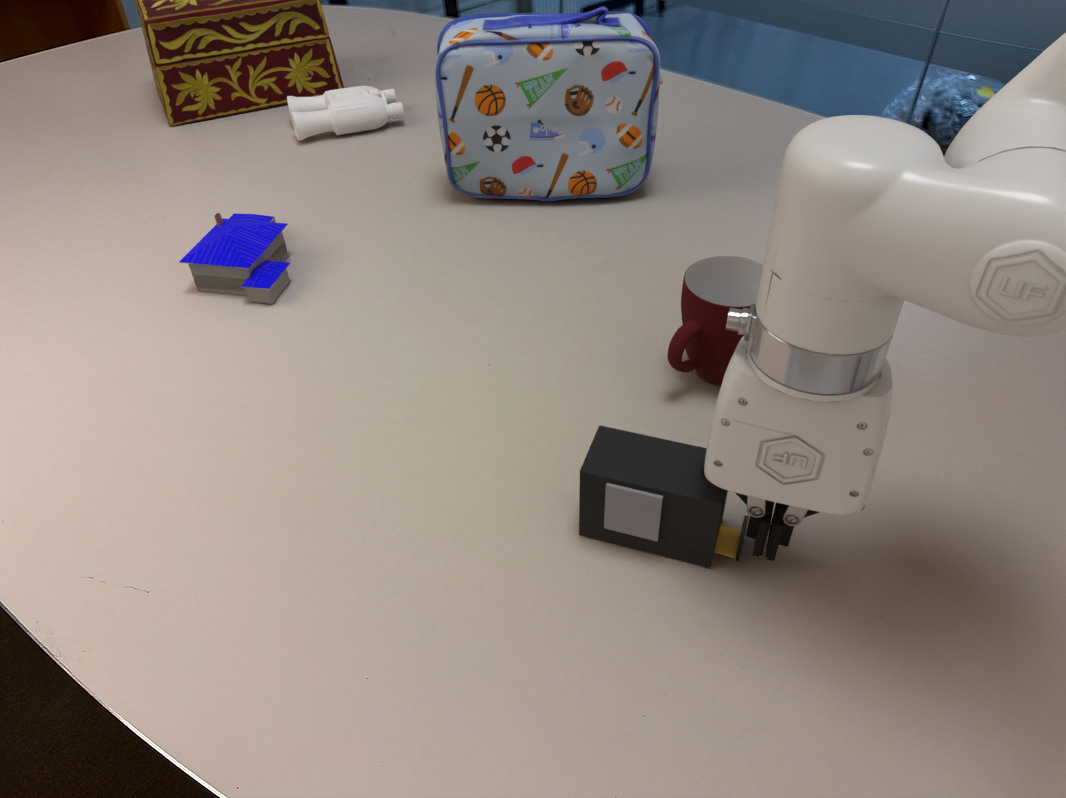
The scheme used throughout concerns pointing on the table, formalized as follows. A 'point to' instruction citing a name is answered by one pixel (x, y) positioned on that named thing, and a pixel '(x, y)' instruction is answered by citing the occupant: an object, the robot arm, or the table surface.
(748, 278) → the mug
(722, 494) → the tape case
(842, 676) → the table surface
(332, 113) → the binoculars
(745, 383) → the robot arm
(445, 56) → the lunch box
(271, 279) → the house
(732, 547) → the tape blade
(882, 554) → the table surface
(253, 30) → the decorative box
